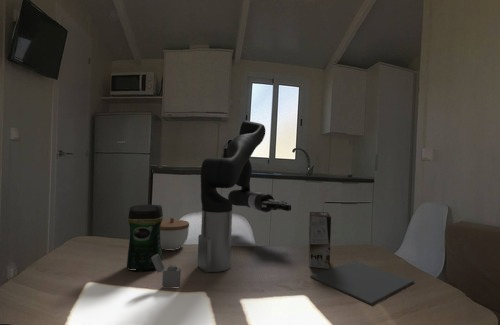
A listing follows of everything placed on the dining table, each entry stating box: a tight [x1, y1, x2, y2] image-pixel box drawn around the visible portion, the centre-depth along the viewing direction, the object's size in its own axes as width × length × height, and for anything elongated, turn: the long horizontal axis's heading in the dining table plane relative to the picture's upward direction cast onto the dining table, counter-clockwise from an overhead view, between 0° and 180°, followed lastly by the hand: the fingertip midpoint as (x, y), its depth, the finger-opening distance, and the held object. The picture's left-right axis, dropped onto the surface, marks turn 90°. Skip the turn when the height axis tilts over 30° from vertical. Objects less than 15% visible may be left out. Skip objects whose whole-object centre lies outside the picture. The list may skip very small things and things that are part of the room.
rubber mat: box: [309, 260, 415, 306], centre depth 74 cm, size 22×18×1 cm
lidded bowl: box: [160, 217, 190, 249], centre depth 98 cm, size 13×13×11 cm
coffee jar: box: [126, 204, 164, 271], centre depth 79 cm, size 10×8×19 cm
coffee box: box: [308, 211, 332, 270], centre depth 86 cm, size 9×6×16 cm
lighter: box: [151, 254, 182, 288], centre depth 66 cm, size 7×2×8 cm, turn 91°
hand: (289, 208), depth 98 cm, fingers closed
